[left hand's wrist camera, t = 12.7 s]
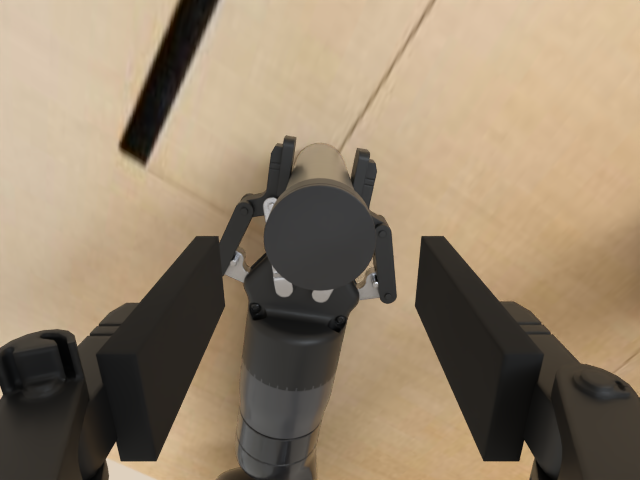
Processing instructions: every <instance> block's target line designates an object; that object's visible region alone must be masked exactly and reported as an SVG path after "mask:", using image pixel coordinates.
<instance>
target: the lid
mask: <svg viewBox="0 0 640 480" xmlns="http://www.w3.org/2000/svg"><path fill="white" fill-rule="evenodd" d="M264 246H265V251H266V254H267V257H268V259H269V261H270V263H271V264H272V266H273V268H274V269H275V270H276V271H277V272H278V273H279V274H280V275H281V276H282V277H283V278H284V279H286V280H287V281H288V282H290V283H292V284H294V285H296V286H298V287H301V288H304V289H308V290H315V291H324V290H332V289H336V288H339V287H342V286H344V285H346V284H348V283H350V282H352V281H353V280H354V279H356V278H357V277H358V276H359V275H360V274H361V273H362V272H363V271H364V270H365V269H366V267H367V266H368V264H369V263H370V261H371V259H372V256H373V254H374V250H375V246H376V230H375V225H374V222H373V219H372V217H371V214H370V212H369V209H368V207H367V205H366V203H365V202H364V200H363V199H362V198H361V197H360V195H359V194H358V193H357V192H356V191H354V190H353V189H352V188H350V187H349V186H347V185H346V184H344V183H341V182H339V181H336V180H332V179H327V178H314V179H308V180H304V181H301V182H298V183H296V184H294V185H292V186H291V187H289V188H288V189H287V190H285V191H284V192H283V193H282V194H281V195H280V196H279V198H278V199H277V200H276V202H275V203H274V205H273V207H272V210H271V212H270V214H269V217H268V219H267V222H266V225H265V230H264Z"/></svg>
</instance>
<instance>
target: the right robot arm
mask: <svg viewBox="0 0 640 480" xmlns="http://www.w3.org/2000/svg"><path fill="white" fill-rule="evenodd" d="M295 145H296V137H292V136H285V138H284V142H283V144H279V143H277V144H276V146H275V147H274V149H273V151H272V153H271V158H270V167H269V175H268V183H267V190H266V191H265V192H263V193H260V194H246V195H244V196H243V198H242V199H241V201H240V202H239V203H238V205H237V206H236V208H235V210H234V212H233V214H232V217H231V219H230V221H229V223H228V225H227V228H226V230H225V232H224V234H223V236H222V239H221V241H220V243H219V248H220V258H221V269H222V276H224V274H225V275H227V276H229V277H232V278H234V279H236V280H238V281H240V282H243V283H244V289H245V291H246V293H247V295H248V300H249V304H248V312H247V321H246V329H245V337H244V346H243V354H242V363H241V371H240V382H239V391H240V406H239V414H238V422H237V429H236V438H235V452H236V457H237V460H238V463H239V465H240V467H239V468H235V469H231V470H228V471H226V472H223V473H222V474H220V475H219V476H218V477H217V478H216V480H318V477H317V463H316V445H317V441H318V435H319V431H320V426H321V422H322V417H323V414H324V411H325V409H326V406H327V404H328V401H329V398H330V395H331V391H332V387H333V382H334V378H335V373H336V369H337V364H338V360H339V355H340V351H341V346H342V342H343V337H344V333H345V328H346V324H347V319H348V316H349V314H350V312H351V311H352V310H353V309H354V308H355V307H356V305H357V304H358V302H359V300H364V299H372V298H380V300H381V301H382V302H383V303H386V304H389V303H392V302H394V301H395V299H396V297H397V294H396V282H395V270H394V258H393V246H392V234H391V230H390V228H389V226H388V224H387V222H386V220H385V218H384V217H383V216H381V215H377V214H375V213H373V212H372V211H370V210H369V212H370V214H371V217H372V219H373V222H374V225H375V230H376V246H375V250H374V254H373V264H374V267H373V268H369V269H368V270H367V271H366V272H365V277H364V280H363V281H362V282H360V283H358V284H357V283H356V281H355V279H354V280H353V281H352V282H350V283H348V284H346V285H344V286H342V287H339V288H336V289H332V290H324V291H315V290H308V289H304V288H301V287H298V286H296V285H294V284H292V283H290V282H288V281H287V280H286V279H284V278H283V277H282V276H281V275H280V274H279V273H278V272H277V271H276V270H275V269H274V268H273V266H272V264H271V263H270V261H269V259H268V257H267V254H266V253H265V254H264V255H263V256H262V257H261V258H260V259H259V260H258V261H257V262H256V263H255V264H254V265H252V266H251V267H249V266H247V264H246V263H245V257H246V252H245V250H244V249H243V248H241V247H239V244H240V242H241V240H242V238H243V236H244V234H245V232H246V230H247V227H248V225H249V223H250V221H251V219H252V217H256V216H262V215H265V221H266V222H267V219H268V217H269V214H270V212H271V210H272V207H273V205H274V203H275V202H276V200H277V199H278V198H279V196H280V195H281V194H282V193H283V192H284V191H285V190H286V188H287V185H288V182H289V179H290V176H291V173H292V166H293V159H294V152H295ZM369 158H370V152H369V151H368V150H366V149H360V148H357V150H356V154H355V159H354V164H353V169H352V174H351V179H350V180H351V183H352V185H353V188H354V191H356V192H357V193H358V194H359V195H360V197H361V198H362V199H363V200H364V202H365V203H366V205H367V207H368V209H369V205H370V200H371V196H372V191H373V186H374V182H375V178H376V173H377V169H376V163H375V162H374V161H373V160H371V159H369Z"/></svg>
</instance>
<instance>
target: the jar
mask: <svg viewBox="0 0 640 480" xmlns="http://www.w3.org/2000/svg"><path fill="white" fill-rule="evenodd" d="M314 178H327V179H332V180H336V181H339V182H341V183H344V184H346V185H347V186H349V187H350V188H352V189H353V190H354V188H353V185H352V183H351V180H350V177H349V174H348V171H347V168H346V165H345V162H344V159H343V157H342V155H341V154H340V152H339V151H338V150H337V149H336V148H334V147H333V146H331V145H328V144H324V143H316V144H312V145H309V146H307V147H306V148H304V149H303V150H302V151H301V152H300V154H299V155H298V157H297V159H296V162H295V165H294V168H293V171H292V174H291V176H290V179H289V182H288V185H287V188H286V190H287V189H288V188H289V187H291V186H292V185H294V184H296V183H298V182H301V181H304V180H308V179H314Z"/></svg>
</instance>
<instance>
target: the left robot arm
mask: <svg viewBox="0 0 640 480" xmlns="http://www.w3.org/2000/svg"><path fill="white" fill-rule="evenodd" d="M224 307H225V300H224V290H223V279H222V269H221V258H220V248H219V237H218V236H196V237H195V238H194V240H193V241H192V242H191V243H190V244H189V245H188V247H187V248H186V249H185V250H184V251H183V253H182V254H181V255H180V256H179V257H178V258H177V260H176V261H175V262H174V263H173V264H172V265H171V267H170V268H169V269H168V270H167V271H166V272H165V274H164V275H163V276H162V277H161V278H160V279H159V281H158V282H157V283H156V284H155V285H154V287H153V288H152V289H151V290H150V291H149V292H148V294H147V295H146V296H145V297H144V298H143V299H142V301H141V302H140V303H125V304H124V305H122V306H120V307H119V308H117V309H115V310H113V311H112V312H110V313H109V314H108V315H107V316H106V317H105V318H104V319H103V320H102V321H101V322H100V323H99V326H97V327H96V328H95V329H94V330H93V331H92V332H91V333H90V336H87V337H86V338H85V339H84V340H83V341H82V342H81V343H80V345H79V346H78V347H77V344H76V340H75V336H74V335H73V334H72V333H70V332H69V331H65V330H59V329H54V330H43V331H39V332H35V333H31V334H27V335H25V336H22V337H20V338H17V339H15V340H12V341H10V342H9V343H7V344H6V345H4V346H2V347H1V348H0V387H1V390H2V392H3V396H2V398H1V399H0V480H108V479H109V473H108V467H107V463H106V458H107V456H108V454H109V452H110V451H111V449H112V447H113V446H114V444H115V442H116V443H117V447H118V451H119V456H120V460H121V461H157V459H158V456H159V454H160V452H161V450H162V447H163V445H164V443H165V441H166V438H167V436H168V434H169V432H170V429H171V427H172V425H173V422H174V420H175V418H176V416H177V413H178V411H179V409H180V407H181V404H182V402H183V400H184V398H185V395H186V393H187V391H188V389H189V386H190V384H191V382H192V380H193V377H194V375H195V373H196V371H197V368H198V366H199V364H200V361H201V359H202V357H203V355H204V352H205V350H206V348H207V346H208V343H209V341H210V339H211V337H212V334H213V332H214V330H215V328H216V325H217V323H218V321H219V319H220V316H221V314H222V312H223V309H224ZM415 307H416V309H417V312H418V314H419V316H420V319H421V321H422V323H423V325H424V328H425V330H426V332H427V334H428V337H429V339H430V341H431V343H432V346H433V348H434V350H435V352H436V355H437V357H438V359H439V361H440V364H441V366H442V368H443V371H444V373H445V375H446V377H447V380H448V382H449V384H450V386H451V389H452V391H453V393H454V395H455V398H456V400H457V402H458V404H459V407H460V409H461V411H462V413H463V416H464V418H465V420H466V422H467V425H468V427H469V429H470V432H471V434H472V436H473V438H474V441H475V443H476V445H477V447H478V450H479V452H480V454H481V456H482V459H483V461H519V460H520V456H521V451H522V447H523V443H524V440H525V442H526V443H527V445H528V447H529V449H530V450H531V452H532V454H533V455H534V457H535V459H534V463H533V467H532V470H531V474H530V478H529V480H640V397H638V395H637V393H636V392H635V391H634V390H633V389H632V387H631V386H630V385H629V384H628V383H626V382H625V381H624V380H622V379H621V378H619V377H618V376H616V375H614V374H612V373H610V372H608V371H606V370H604V369H601V368H598V367H594V366H591V365H587V364H581V363H580V362H579V361H578V360H577V359H576V358H575V357H574V356H573V355H572V354H571V353H570V352H569V351H568V350H567V349H566V348H565V347H564V346H563V345H562V344H561V343H560V342H559V341H558V339H557V338H556V337H555V336H554V335H551V334H550V331H549V330H548V329H547V328H546V327H545V326H544V325H542V324H541V322H540V321H539V320H538V319H537V318H536V316H535V315H534V314H533V313H532V312H531V311H529V310H527V309H526V308H524V307H522V306H521V305H519V304H517V303H515V302H499V301H498V299H497V298H496V297H495V296H494V295H493V294H492V292H491V291H490V290H489V289H488V288H487V287H486V285H485V284H484V283H483V282H482V281H481V279H480V278H479V277H478V276H477V275H476V274H475V272H474V271H473V270H472V269H471V268H470V267H469V265H468V264H467V263H466V262H465V261H464V260H463V258H462V257H461V256H460V255H459V254H458V253H457V251H456V250H455V249H454V248H453V247H452V245H451V244H450V243H449V242H448V241H447V240H446V238H445V237H444V236H422V237H421V248H420V258H419V269H418V279H417V290H416V300H415Z"/></svg>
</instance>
